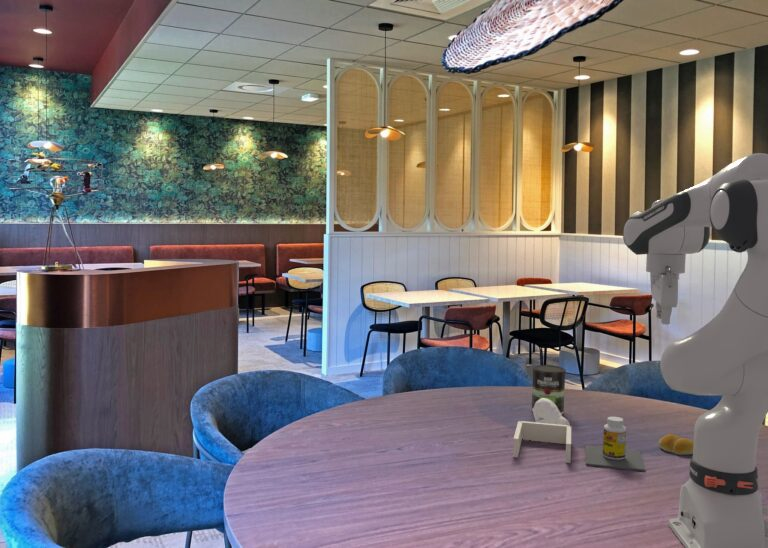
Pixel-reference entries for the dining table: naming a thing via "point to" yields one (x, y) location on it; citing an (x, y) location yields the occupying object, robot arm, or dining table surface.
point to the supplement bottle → (614, 439)
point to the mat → (628, 463)
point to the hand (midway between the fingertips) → (662, 321)
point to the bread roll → (676, 445)
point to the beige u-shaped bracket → (542, 435)
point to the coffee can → (549, 385)
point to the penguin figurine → (548, 413)
